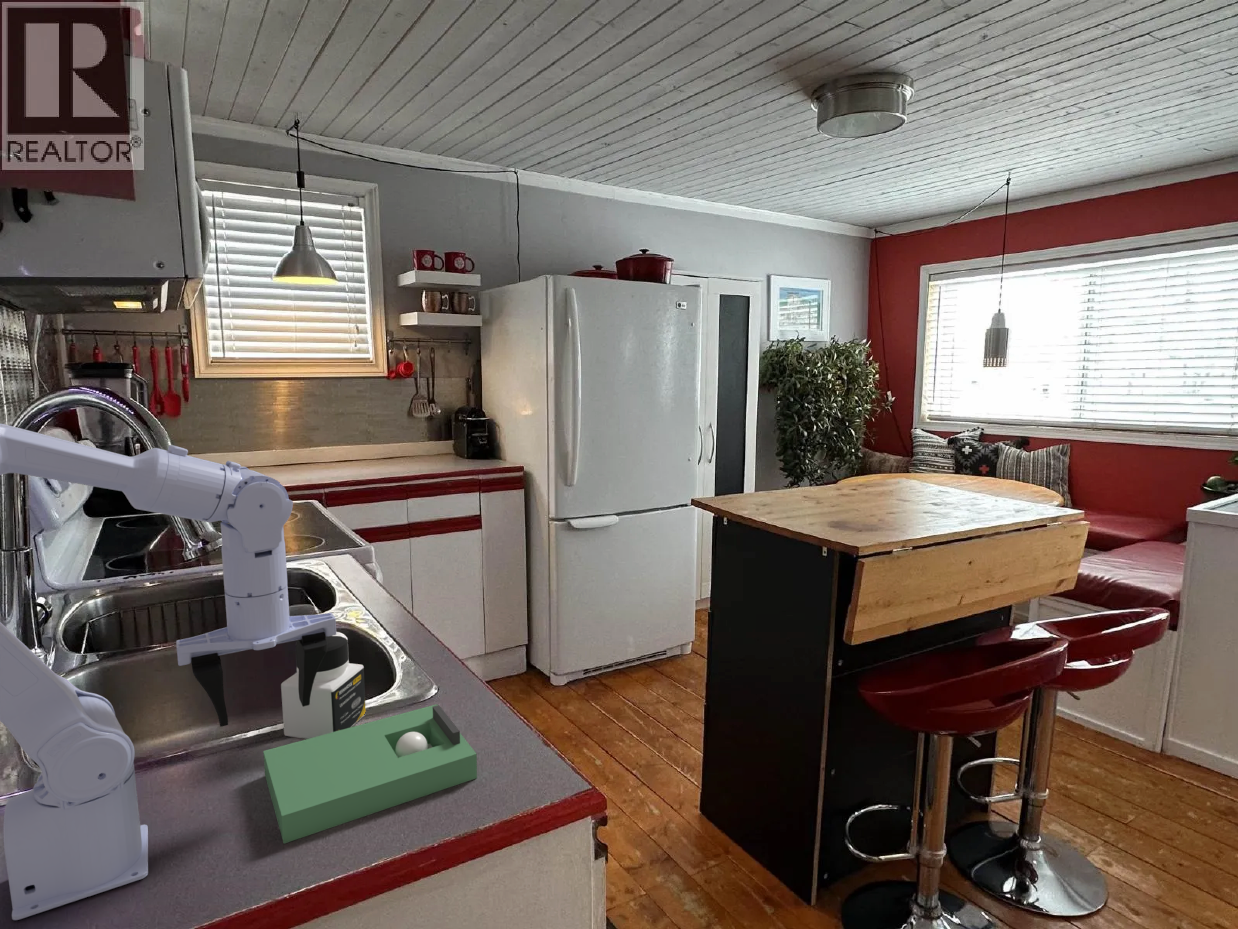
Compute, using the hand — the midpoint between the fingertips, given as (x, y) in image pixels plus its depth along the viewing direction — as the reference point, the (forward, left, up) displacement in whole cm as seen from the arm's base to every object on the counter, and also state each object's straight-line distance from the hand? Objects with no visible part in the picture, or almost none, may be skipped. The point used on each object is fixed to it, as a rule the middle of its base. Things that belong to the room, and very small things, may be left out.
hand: (265, 711), depth 74 cm
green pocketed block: (+10, -2, -10) cm, 14 cm away
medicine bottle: (+8, +12, -10) cm, 18 cm away
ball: (+15, -2, -8) cm, 17 cm away
